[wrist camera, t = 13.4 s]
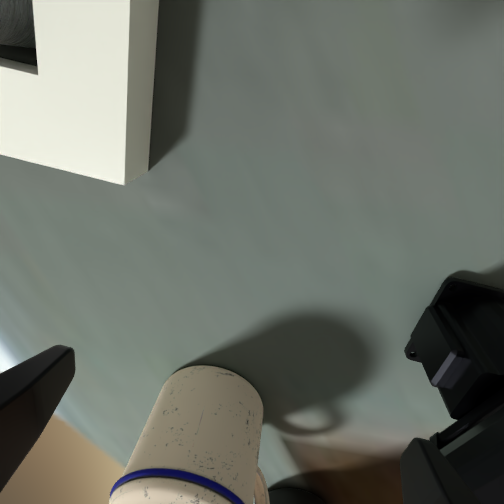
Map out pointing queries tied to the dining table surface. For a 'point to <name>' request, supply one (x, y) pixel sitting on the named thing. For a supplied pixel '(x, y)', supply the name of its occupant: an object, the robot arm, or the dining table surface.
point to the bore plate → (84, 89)
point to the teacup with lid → (198, 444)
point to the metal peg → (17, 23)
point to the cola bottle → (293, 497)
